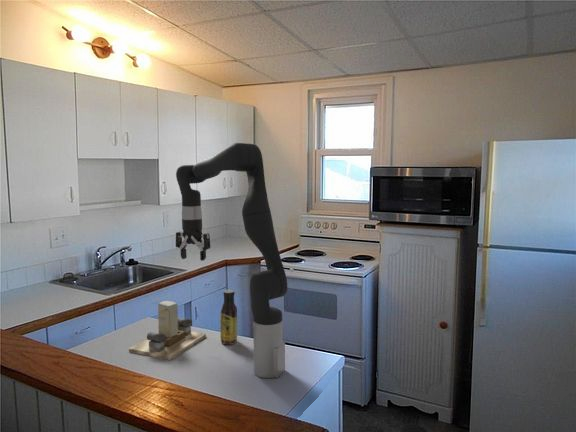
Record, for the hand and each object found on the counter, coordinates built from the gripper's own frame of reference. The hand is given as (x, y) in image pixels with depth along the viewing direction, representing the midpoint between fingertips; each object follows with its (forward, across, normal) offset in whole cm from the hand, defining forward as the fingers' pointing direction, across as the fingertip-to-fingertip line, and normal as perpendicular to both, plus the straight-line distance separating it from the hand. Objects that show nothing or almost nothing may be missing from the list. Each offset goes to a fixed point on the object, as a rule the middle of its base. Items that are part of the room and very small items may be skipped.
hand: (193, 259), depth 173 cm
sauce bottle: (+30, -16, +2) cm, 34 cm away
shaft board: (+30, +4, +12) cm, 32 cm away
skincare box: (+26, +4, +12) cm, 29 cm away
